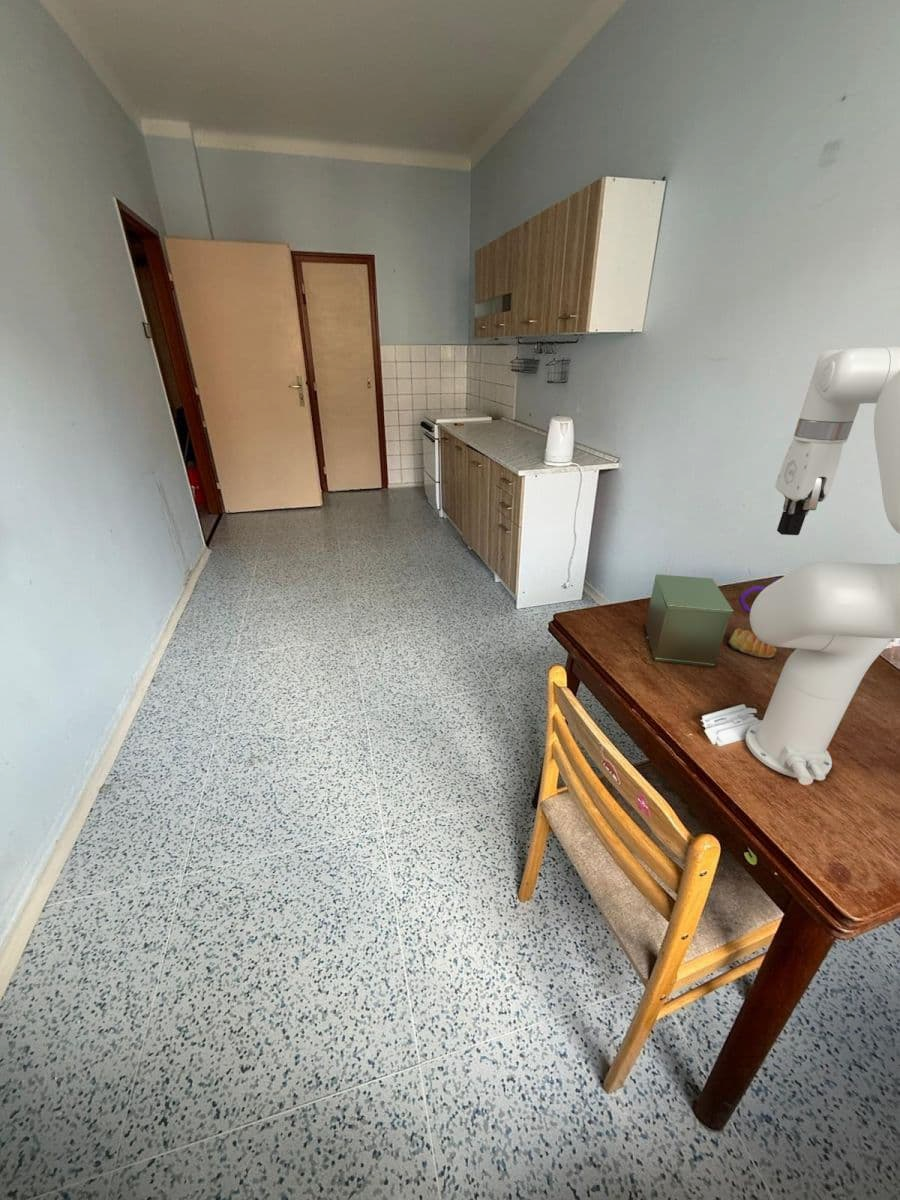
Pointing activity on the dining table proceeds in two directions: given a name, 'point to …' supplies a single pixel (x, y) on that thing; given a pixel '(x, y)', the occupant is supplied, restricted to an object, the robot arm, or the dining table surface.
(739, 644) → the pastry
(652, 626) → the trash bin
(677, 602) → the bin lid
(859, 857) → the dining table surface
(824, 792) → the dining table surface
